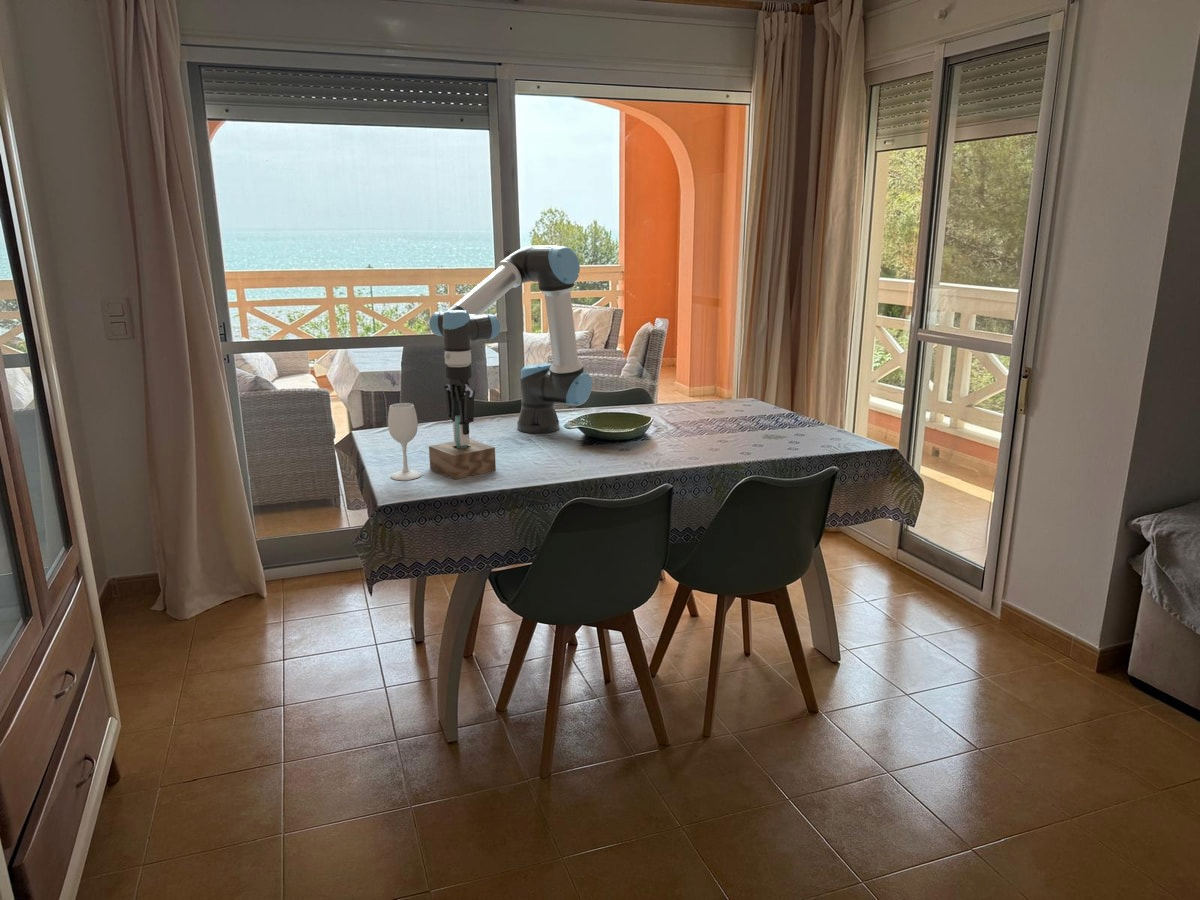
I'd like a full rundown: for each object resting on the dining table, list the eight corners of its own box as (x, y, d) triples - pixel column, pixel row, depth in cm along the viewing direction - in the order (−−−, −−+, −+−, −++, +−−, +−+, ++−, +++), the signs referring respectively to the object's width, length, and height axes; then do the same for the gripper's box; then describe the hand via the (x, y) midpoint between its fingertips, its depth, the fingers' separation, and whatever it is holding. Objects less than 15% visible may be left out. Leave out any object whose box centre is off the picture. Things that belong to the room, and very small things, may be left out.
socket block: (470, 460, 248) (469, 438, 246) (495, 470, 238) (494, 447, 236) (430, 468, 239) (428, 446, 238) (455, 479, 229) (453, 455, 227)
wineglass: (423, 471, 237) (419, 402, 231) (418, 480, 228) (414, 408, 223) (394, 471, 236) (389, 402, 231) (387, 480, 228) (382, 408, 222)
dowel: (463, 454, 240) (462, 414, 237) (469, 456, 238) (467, 416, 234) (454, 455, 238) (452, 416, 235) (460, 458, 235) (458, 418, 232)
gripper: (432, 362, 234) (436, 440, 240) (461, 369, 222) (465, 451, 229) (454, 360, 239) (458, 436, 245) (484, 366, 227) (487, 446, 233)
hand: (461, 443), depth 237 cm, fingers closed on dowel, 3 cm apart
